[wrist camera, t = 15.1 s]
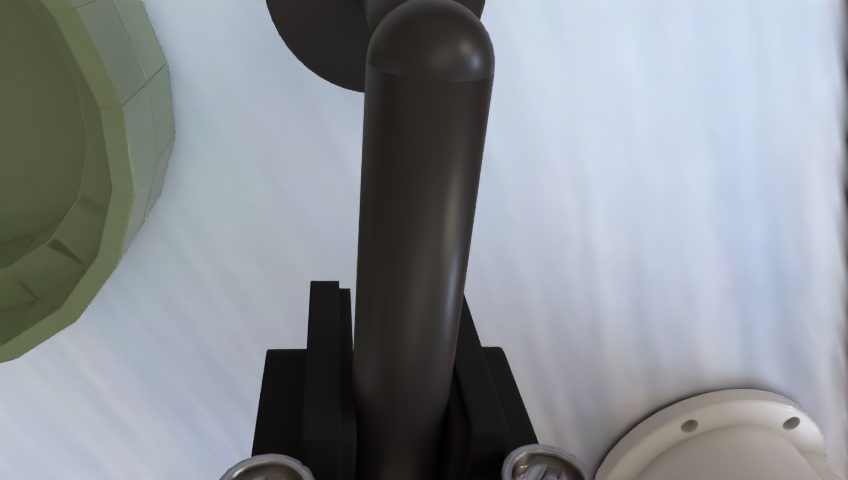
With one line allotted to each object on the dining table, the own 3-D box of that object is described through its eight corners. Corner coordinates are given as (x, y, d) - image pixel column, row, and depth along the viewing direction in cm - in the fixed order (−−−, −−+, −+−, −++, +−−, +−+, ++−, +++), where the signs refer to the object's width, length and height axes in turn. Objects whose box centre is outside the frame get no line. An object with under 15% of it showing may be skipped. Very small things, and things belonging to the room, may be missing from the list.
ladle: (425, 371, 22) (499, 721, 12) (279, 374, 21) (242, 750, 12) (483, -133, 15) (751, -191, 5) (265, -157, 14) (141, -276, 5)
